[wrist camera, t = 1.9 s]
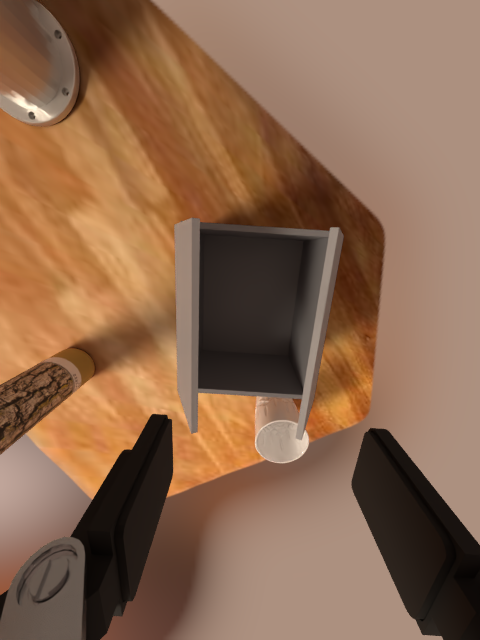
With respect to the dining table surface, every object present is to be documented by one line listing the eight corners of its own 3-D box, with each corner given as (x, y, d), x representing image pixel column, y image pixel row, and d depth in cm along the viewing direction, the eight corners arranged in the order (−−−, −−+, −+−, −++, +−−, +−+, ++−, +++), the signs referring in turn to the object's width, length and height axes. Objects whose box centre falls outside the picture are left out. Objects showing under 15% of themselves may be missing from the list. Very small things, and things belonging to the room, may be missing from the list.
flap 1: (182, 389, 29) (177, 389, 29) (180, 225, 24) (174, 224, 23) (197, 432, 23) (191, 433, 22) (199, 218, 17) (191, 217, 17)
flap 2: (337, 235, 24) (343, 235, 23) (309, 397, 29) (314, 398, 29) (330, 227, 17) (339, 227, 17) (295, 438, 23) (301, 440, 22)
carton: (201, 230, 35) (180, 221, 23) (307, 237, 35) (337, 231, 23) (199, 351, 41) (182, 391, 29) (290, 357, 41) (308, 399, 29)
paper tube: (95, 349, 41) (-112, 489, 17) (97, 382, 43) (-86, 549, 19) (57, 344, 41) (-208, 478, 17) (60, 378, 43) (-171, 541, 19)
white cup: (255, 419, 45) (258, 465, 35) (249, 384, 43) (251, 423, 33) (296, 414, 44) (310, 460, 35) (292, 379, 42) (307, 417, 33)
